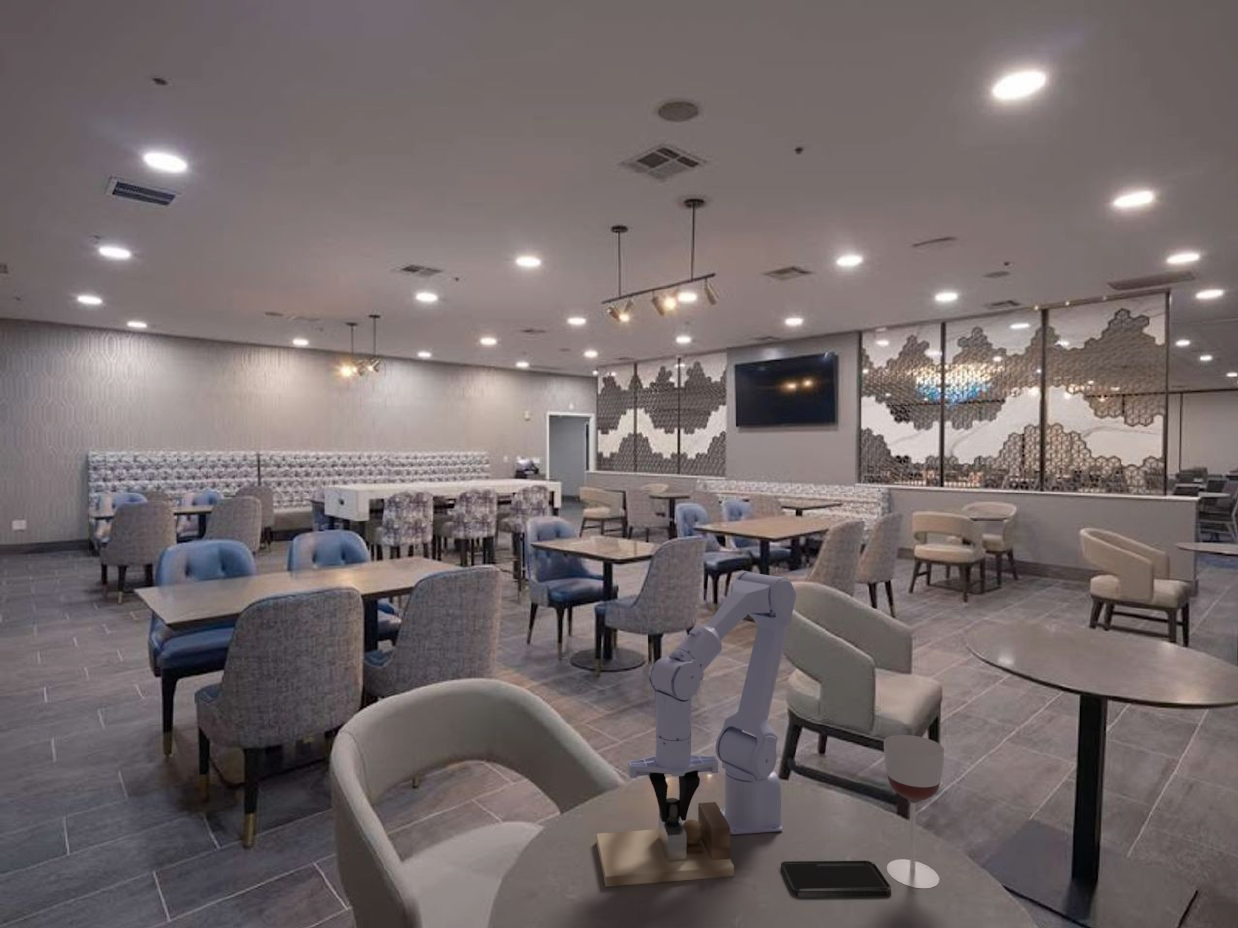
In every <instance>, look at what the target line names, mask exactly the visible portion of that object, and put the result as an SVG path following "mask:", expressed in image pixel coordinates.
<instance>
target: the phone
mask: <svg viewBox="0 0 1238 928" xmlns="http://www.w3.org/2000/svg"><path fill="white" fill-rule="evenodd" d="M780 871H781V873H782V875H783V878H784V880H785V882H786V884H787V887H788V889H789V891H790V893H791V894H792V895H793V896H795V897H797V898H843V897H844V898H845V897H846V898H852V897H853V898H855V897H857V898H858V897H859V898H861V897H862V898H863V897H864V898H865V897H866V898H868V897H872V898H873V897H874V898H875V897H889V896H891V895H892V887H891V885H890V883H889V882H888V881H887V878H885V876H884V875H883V874H882V872H881V871H880V869H879V868H878V866H877V865H876V864H875V863H874V862H872V861H870V860H786V861H785V860H784V861H782V862H780Z"/></svg>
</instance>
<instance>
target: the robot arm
mask: <svg viewBox="0 0 1238 928" xmlns="http://www.w3.org/2000/svg"><path fill="white" fill-rule="evenodd" d="M796 599H797V592H796V590H795V588H794V586H793V582H792V581H791V580H790V579H789V578H788V577H786V576H774V575H768V574H763V573H762V574H761V573H758V572H757V573H755V572H752V571H747V570H744V571H741V572H740V573H739V574H738V575H737V577H736V579H734V580H733V581H732V582H731V585H730V594H729V595H728V596H727V598H726V599H725V600H724V602H723V603H722V605H721V606H720V607H719V608H718V609H717V611H716V612H715V613H714V615H713V616H712V618H710V620H709V621H708V622H707V624H706V625H705V626H702V625H698V626H695V627H692V629H690V631H689V632H688V635H687V636H686V637H685V638H684V639H683V640H682V641H681V643H680V644H679V645H677V647H675V649H674V650H673V651H672V652H671V653H670V654H669V656H663V657H661V658H659V659H658V660H656V661H655V662H654V663H653V665H652V666H651V669H650V673H649V675H648V677H647V680H648V684H649V686H650V688H651V689H652V692H653V700H654V701H655V755H653V756H649V757H645V758H641V759H637V760H628V761H627V762H628V763H627V769H628V770H627V774H628V776H629V779H636V778H637V777H640V776H641V777H642V776H643V777H644V776H648V778H649V780H650V783H651V785H652V789H653V790H654V793H655V796H656V801H657V805H658V809H659V810H658V811H659V812H658V813H660V818H661V820H662V822H667V806H666V801H667V799H668V797H667V795H668V788H669V785H668V782H667V779H666V775H671V776H672V777H678V789H679V797H678V800H679V801H680V821H681V822H683V821H684V822H686V821H687V817H688V811H689V808H690V805H691V803H692V800H693V797H694V795H695V793H696V791H697V789H698V788H699V787H700V782H701V777H700V776H699V773H709V772H710V773H711V774H719V761H721V768H722V769H723V770H724V775H725V776H724V777H725V778H724V808H719V809H720V811H721V812H722V814H723V816H724V817H725V819H726V821H727V823H728V824H729V826H730V835H743V834H744V835H745V834H757V833H758V834H759V833H770V832H781V831H783V826H782V789H781V783H780V778H779V776H778V774H777V773H776V771H775V770H774V769H775V768H776V763H777V759H778V758H777V757H778V755H777V743H778V738H779V737H778V734H777V733H776V732H775V730H774V729H773V727H772V726H771V725H770V723H769V721H768V720H769V719H768V718H769V715H770V710H771V706H772V703H773V702H772V701H773V696H774V691H775V688H776V687H775V686H776V683H777V678H778V674H779V671H780V670H779V669H780V666H781V660H782V656H783V651H784V647H785V642H786V638H787V633H788V629H789V626H790V624H791V621H792V617H793V613H794V608H795V603H796ZM748 615H749V617H751V618H752V619H753V621H754V623H755V625H756V632H755V636H754V640H753V646H752V649H751V653H750V657H749V658H750V659H749V662H748V667H747V671H746V675H745V679H744V684H743V689H742V692H741V697H740V701H739V706H738V708H737V709H738V710H737V712H735V713H734V714H732V715H729V716H728V717H727V718H725V719H724V722H723V727H722V729H721V731H720V732H719V734H718V736H717V739H716V741H715V755H716V756H711V755H710V756H708V755H707V756H705V755H695V754H692V697H693V696H695V695H696V694H697V692H698V690H699V687H700V683H701V680H702V678H703V675H704V671H705V670H706V669H707V668H708V667H709V666H710V665H711V664H712V663H713V661H714V660H715V658H717V657H718V655H719V654H720V653H721V651H722V647H723V646H722V640H723V639H724V638H725V637H726V636H727V635H728V634H729V633H730V632H731V631H733V629H735V628H736V627H737V625H738V624H739V623H740V622H742V621H743V620H744V619H745V618H746V617H747V616H748ZM716 757H717V758H716ZM718 760H719V761H718Z"/></svg>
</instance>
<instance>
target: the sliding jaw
mask: <svg viewBox="0 0 1238 928" xmlns="http://www.w3.org/2000/svg"><path fill="white" fill-rule="evenodd" d="M666 806H667V822H662V820H661V818H660V812H658V829H659V839H660V842H661V845H662V847H663V850H664V853H665V855H666V858H667V861H678V860H686V846H687V834H686V832H685V830H684V827H683V823H682V820H681V818H680V801H679V798H676V797H669V798H668V797H667V801H666Z"/></svg>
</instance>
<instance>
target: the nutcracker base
mask: <svg viewBox="0 0 1238 928" xmlns="http://www.w3.org/2000/svg"><path fill="white" fill-rule="evenodd" d="M697 805H698V806H697V807H698V808H697V811H698V812H697V814H698V816H697V819H698V820H697V822H699V823H700V825H701V826H702V829H703V837H702V839H701V841H700V842H699V843H698V844H695V845H690V844H687V846H686V860H678V861H667V858H666V855H665V853H664V850H663V847H662V845H661V842H660V839H659V828H657V829H655V828H654V829H644V830H643V829H642V830H629V831H617V832H615V831H614V832H602V833H601V832H600V833H599V832H598V833H596V846H597V852H598V857H599V861H600V865H601V871H602V876H603V880H604V885H605V887H606V888H608V887H618V886H619V887H621V886H633V885H634V886H635V885H643V884H655V883H667V882H680V881H691V880H692V881H693V880H694V881H695V880H705V879H715V878H717V879H718V878H729V877H735V865H734V863H733V862H732V859H731V834H730V826H729V824H728V823H727V821H726V819H725V817H724V816H723V814H722V812H721V811H720V809H721V808H720V807H719V805H718V804H717V802H716V801H711V802H698V804H697Z"/></svg>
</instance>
